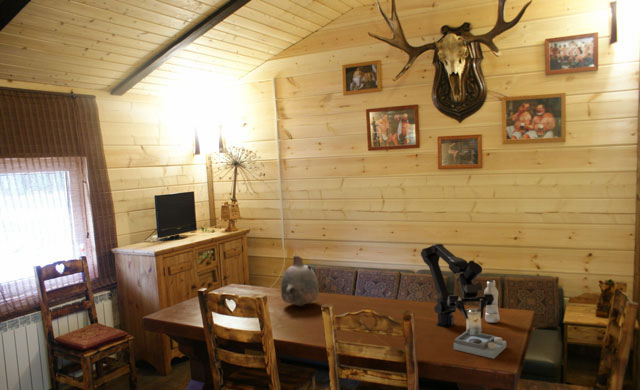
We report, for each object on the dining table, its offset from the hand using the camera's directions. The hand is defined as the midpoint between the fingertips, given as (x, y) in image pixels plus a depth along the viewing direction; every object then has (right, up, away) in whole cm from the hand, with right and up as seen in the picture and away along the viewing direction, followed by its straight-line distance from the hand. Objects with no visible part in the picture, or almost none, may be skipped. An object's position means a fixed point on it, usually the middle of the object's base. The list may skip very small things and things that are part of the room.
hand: (474, 318), depth 200 cm
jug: (-76, -12, +72) cm, 105 cm away
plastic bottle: (+19, -10, +31) cm, 37 cm away
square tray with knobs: (+3, -13, +1) cm, 13 cm away
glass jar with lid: (0, -7, +1) cm, 7 cm away
